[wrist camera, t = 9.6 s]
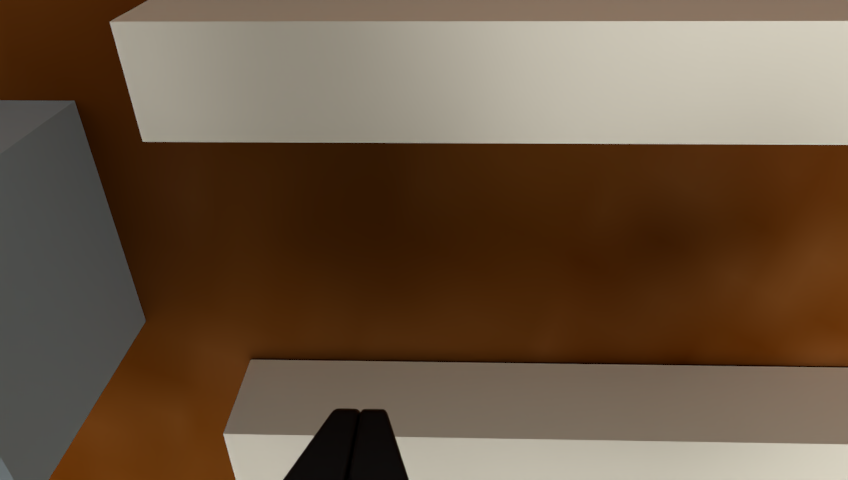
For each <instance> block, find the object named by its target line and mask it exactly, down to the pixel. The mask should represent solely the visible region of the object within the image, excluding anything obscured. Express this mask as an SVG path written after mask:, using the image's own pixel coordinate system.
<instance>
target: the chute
mask: <svg viewBox="0 0 848 480" xmlns="http://www.w3.org/2000/svg"><path fill="white" fill-rule="evenodd" d="M110 25H111V29H112V33H113V36H114V40H115V44H116V47H117V51H118V54H119V58H120V62H121V65H122V69H123V73H124V76H125V80H126V83H127V87H128V91H129V94H130V98H131V102H132V105H133V109H134V112H135V116H136V120H137V123H138V127H139V131H140V134H141V138H142V141H143V142H285V143H520V144H755V145H848V0H148V1H146V2H144V3H142V4H140V5H139V6H137V7H135V8H133V9H131V10H130V11H128V12H126V13H124V14H122V15H121V16H119V17H117V18H115V19H113V20H112V21H110ZM338 408H351V409H358V410H359V411H360V412H361V411H362V410H363V409H384V410H386V412H387V413H388V416H389V419H390V423H391V426H392V429H393V432H394V435H395V438H396V441H397V444H398V447H399V450H400V454H401V457H402V460H403V463H404V466H405V469H406V472H407V475H408V478H409V480H848V368H840V367H766V366H692V365H618V364H544V363H471V362H397V361H323V360H250V363H249V365H248V368H247V371H246V373H245V376H244V379H243V382H242V384H241V387H240V390H239V392H238V395H237V398H236V401H235V403H234V406H233V409H232V411H231V414H230V417H229V420H228V422H227V425H226V428H225V430H224V433H223V435H224V439H225V442H226V446H227V450H228V453H229V457H230V461H231V464H232V468H233V471H234V475H235V479H236V480H283V479H284V478H285V476H286V475H287V473H288V472H289V471H290V469H291V468H292V466H293V465H294V464H295V462H296V461H297V459H298V458H299V457H300V455H301V454H302V453H303V451H304V450H305V448H306V447H307V446H308V444H309V443H310V441H311V440H312V439H313V437H314V436H315V434H316V433H317V432H318V430H319V429H320V427H321V426H322V425H323V423H324V422H325V420H326V419H327V418H328V416H329V415H330V414H331V412H332V411H333V410H335V409H338Z"/></svg>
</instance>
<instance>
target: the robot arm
mask: <svg viewBox="0 0 848 480" xmlns="http://www.w3.org/2000/svg"><path fill="white" fill-rule="evenodd" d="M283 480H409V478H408V475H407V472H406V469H405V466H404V463H403V460H402V457H401V454H400V450H399V447H398V444H397V441H396V438H395V435H394V432H393V429H392V426H391V423H390V419H389V416H388V413H387V412H386V410H384V409H363V410H362V411H361V412H360V411H359V410H358V409H351V408H338V409H335V410H333V411H332V412H331V414H330V415H329V416H328V418H327V419H326V420H325V422H324V423H323V425H322V426H321V427H320V429H319V430H318V432H317V433H316V434H315V436H314V437H313V439H312V440H311V441H310V443H309V444H308V446H307V447H306V448H305V450H304V451H303V453H302V454H301V455H300V457H299V458H298V459H297V461H296V462H295V464H294V465H293V466H292V468H291V469H290V471H289V472H288V473H287V475H286V476H285V478H284V479H283Z"/></svg>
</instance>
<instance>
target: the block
mask: <svg viewBox="0 0 848 480" xmlns="http://www.w3.org/2000/svg"><path fill="white" fill-rule="evenodd" d="M145 322H146V320H145V317H144V313H143V310H142V307H141V304H140V301H139V298H138V295H137V292H136V289H135V286H134V283H133V280H132V276H131V273H130V270H129V267H128V264H127V261H126V258H125V255H124V252H123V249H122V246H121V242H120V239H119V236H118V233H117V230H116V227H115V224H114V221H113V218H112V215H111V212H110V209H109V205H108V202H107V199H106V196H105V193H104V190H103V187H102V184H101V181H100V178H99V175H98V172H97V168H96V165H95V162H94V159H93V156H92V153H91V150H90V147H89V144H88V141H87V138H86V134H85V131H84V128H83V125H82V122H81V119H80V116H79V113H78V110H77V107H76V104H75V101H31V100H0V480H49V478H50V476H51V475H52V473H53V471H54V470H55V468H56V467H57V465H58V463H59V462H60V460H61V458H62V457H63V455H64V454H65V452H66V450H67V449H68V447H69V445H70V444H71V442H72V441H73V439H74V437H75V436H76V434H77V432H78V431H79V429H80V428H81V426H82V424H83V423H84V421H85V419H86V418H87V416H88V415H89V413H90V411H91V410H92V408H93V406H94V405H95V403H96V401H97V400H98V398H99V397H100V395H101V393H102V392H103V390H104V388H105V387H106V385H107V384H108V382H109V380H110V379H111V377H112V375H113V374H114V372H115V371H116V369H117V367H118V366H119V364H120V362H121V361H122V359H123V358H124V356H125V354H126V353H127V351H128V349H129V348H130V346H131V345H132V343H133V341H134V340H135V338H136V336H137V335H138V333H139V332H140V330H141V328H142V327H143V325H144V323H145Z"/></svg>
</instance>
